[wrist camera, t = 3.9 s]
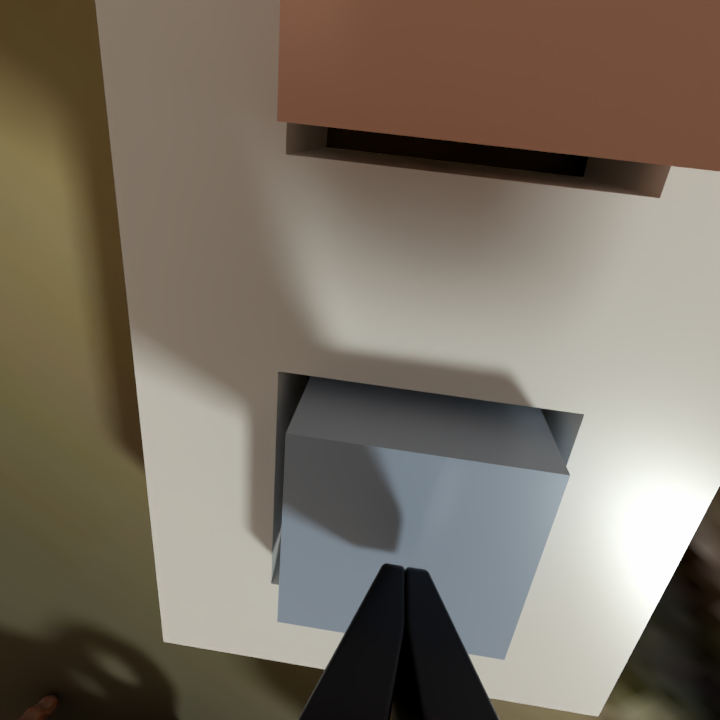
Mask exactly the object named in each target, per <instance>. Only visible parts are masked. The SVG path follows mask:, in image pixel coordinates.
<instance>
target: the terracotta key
mask: <svg viewBox="0 0 720 720" xmlns="http://www.w3.org/2000/svg"><path fill="white" fill-rule="evenodd" d="M277 121H279V122H288V123H297V124H306V125H315V126H323V127H332V128H341V129H350V130H359V131H367V132H376V133H385V134H394V135H403V136H412V137H420V138H429V139H438V140H447V141H456V142H464V143H473V144H482V145H491V146H500V147H508V148H517V149H526V150H535V151H544V152H552V153H561V154H570V155H579V156H588V157H596V158H605V159H614V160H623V161H632V162H640V163H649V164H658V165H667V166H676V167H684V168H693V169H702V170H711V171H720V0H280V28H279V66H278V104H277Z"/></svg>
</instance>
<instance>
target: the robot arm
mask: <svg viewBox="0 0 720 720" xmlns="http://www.w3.org/2000/svg"><path fill="white" fill-rule="evenodd" d="M391 709H392V720H499V718H498V716H497V713H496V711H495V709H494V707H493V705H492V703H491V701H490V699H489V697H488V695H487V693H486V690H485V688H484V686H483V684H482V682H481V680H480V678H479V676H478V674H477V672H476V670H475V668H474V665H473V663H472V661H471V659H470V657H469V655H468V653H467V651H466V649H465V647H464V645H463V642H462V640H461V638H460V636H459V634H458V632H457V630H456V628H455V626H454V624H453V622H452V620H451V617H450V615H449V613H448V611H447V609H446V607H445V605H444V603H443V601H442V599H441V597H440V594H439V592H438V590H437V588H436V586H435V584H434V582H433V580H432V578H431V576H430V574H429V572H428V571H427V570H425V569H420V568H414V567H407V568H406V569H404V567H403V566H401V565H395V564H388V563H385V564H383V565H382V566H381V568H380V570H379V572H378V573H377V575H376V577H375V579H374V581H373V583H372V584H371V586H370V588H369V590H368V592H367V593H366V595H365V597H364V599H363V601H362V603H361V604H360V606H359V608H358V610H357V612H356V614H355V615H354V617H353V619H352V621H351V623H350V625H349V626H348V628H347V630H346V632H345V634H344V636H343V637H342V639H341V641H340V643H339V645H338V647H337V648H336V650H335V652H334V654H333V656H332V658H331V659H330V661H329V663H328V665H327V667H326V669H325V670H324V672H323V674H322V676H321V678H320V679H319V681H318V683H317V685H316V687H315V689H314V690H313V692H312V694H311V696H310V698H309V700H308V701H307V703H306V705H305V707H304V709H303V711H302V712H301V714H300V716H299V718H298V720H390V715H391Z"/></svg>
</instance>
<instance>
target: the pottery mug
mask: <svg viewBox="0 0 720 720" xmlns="http://www.w3.org/2000/svg"><path fill="white" fill-rule="evenodd" d="M57 706H58V698H57V697H56V696H55V695H54V694H53V695H47V696H45V697H44V698H42V699H41V700H40V701H39V702H38V703H37V704H36V705H34V706H32V707H29V708H28V709H27V710H26V711H25V713H24V714H23V715H22V716H21V717H20V718H18V719H17V720H46V719H47V718H48V717H50V716H51V715H52V714H53V713H54V711H55V710H56V708H57Z"/></svg>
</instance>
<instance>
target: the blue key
mask: <svg viewBox="0 0 720 720" xmlns="http://www.w3.org/2000/svg"><path fill="white" fill-rule="evenodd" d="M569 477H570V474H569V472H568V469H567V467H566V465H565V463H564V460H563V458H562V456H561V454H560V451H559V449H558V447H557V444H556V442H555V440H554V438H553V435H552V433H551V431H550V429H549V426H548V424H547V422H546V420H545V417H544V415H543V413H542V411H541V408H535V407H528V406H521V405H514V404H507V403H500V402H493V401H485V400H478V399H471V398H464V397H457V396H450V395H443V394H436V393H429V392H421V391H414V390H407V389H400V388H393V387H386V386H379V385H372V384H365V383H358V382H350V381H343V380H336V379H329V378H322V377H315V376H311V377H310V379H309V381H308V383H307V386H306V388H305V390H304V393H303V395H302V397H301V399H300V402H299V404H298V406H297V409H296V411H295V413H294V415H293V418H292V420H291V422H290V425H289V427H288V429H287V431H286V436H285V459H284V481H283V504H282V527H281V550H280V573H279V595H278V618H277V622H281V623H287V624H293V625H299V626H305V627H311V628H317V629H323V630H329V631H335V632H341V633H345V632H346V630H347V628H348V626H349V625H350V623H351V621H352V619H353V617H354V615H355V614H356V612H357V610H358V608H359V606H360V604H361V603H362V601H363V599H364V597H365V595H366V593H367V592H368V590H369V588H370V586H371V584H372V583H373V581H374V579H375V577H376V575H377V573H378V572H379V570H380V568H381V566H382V565H383V564H385V563H388V564H395V565H401V566H403V567H404V569H406V568H407V567H414V568H420V569H425V570H427V571H428V572H429V574H430V576H431V578H432V580H433V582H434V584H435V586H436V588H437V590H438V592H439V594H440V597H441V599H442V601H443V603H444V605H445V607H446V609H447V611H448V613H449V615H450V617H451V620H452V622H453V624H454V626H455V628H456V630H457V632H458V634H459V636H460V638H461V640H462V642H463V645H464V647H465V649H466V651H467V653H468V654H472V655H478V656H484V657H490V658H496V659H501V660H505V657H506V654H507V651H508V648H509V645H510V643H511V640H512V637H513V634H514V631H515V629H516V626H517V623H518V620H519V617H520V615H521V612H522V609H523V606H524V603H525V601H526V598H527V595H528V592H529V589H530V587H531V584H532V581H533V578H534V575H535V573H536V570H537V567H538V564H539V561H540V559H541V556H542V553H543V550H544V547H545V545H546V542H547V539H548V536H549V533H550V531H551V528H552V525H553V522H554V519H555V517H556V514H557V511H558V508H559V505H560V503H561V500H562V497H563V494H564V491H565V489H566V486H567V483H568V480H569Z"/></svg>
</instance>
